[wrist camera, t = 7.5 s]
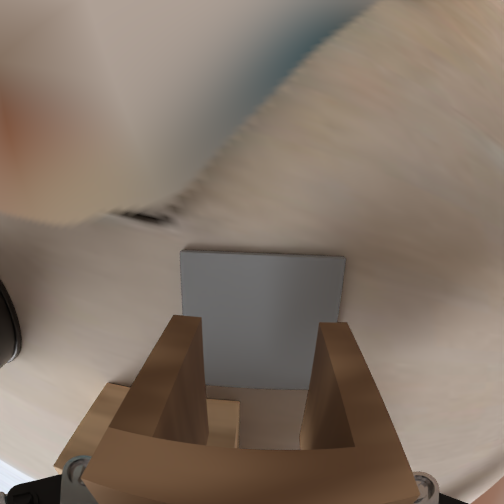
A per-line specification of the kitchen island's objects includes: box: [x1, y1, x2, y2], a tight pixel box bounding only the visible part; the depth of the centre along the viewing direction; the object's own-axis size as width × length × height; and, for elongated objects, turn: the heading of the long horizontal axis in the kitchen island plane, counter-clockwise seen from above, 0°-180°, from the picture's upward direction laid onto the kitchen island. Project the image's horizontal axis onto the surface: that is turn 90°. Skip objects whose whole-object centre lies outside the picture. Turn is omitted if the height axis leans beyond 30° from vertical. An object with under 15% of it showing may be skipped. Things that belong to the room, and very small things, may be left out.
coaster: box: [180, 250, 346, 390], centre depth 16 cm, size 8×8×1 cm
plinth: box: [54, 383, 240, 475], centre depth 15 cm, size 9×9×8 cm
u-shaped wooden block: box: [81, 315, 420, 504], centre depth 8 cm, size 6×6×7 cm
